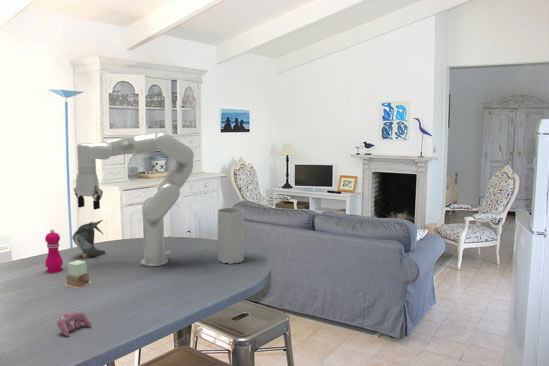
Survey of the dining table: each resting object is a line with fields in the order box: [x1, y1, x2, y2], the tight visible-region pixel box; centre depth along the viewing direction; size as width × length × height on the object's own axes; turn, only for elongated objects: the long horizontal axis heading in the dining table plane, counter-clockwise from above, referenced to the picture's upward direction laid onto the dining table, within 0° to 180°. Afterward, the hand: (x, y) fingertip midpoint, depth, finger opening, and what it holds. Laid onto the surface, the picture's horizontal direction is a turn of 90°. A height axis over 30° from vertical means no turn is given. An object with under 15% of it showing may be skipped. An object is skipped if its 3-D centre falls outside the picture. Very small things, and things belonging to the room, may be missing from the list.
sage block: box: [67, 259, 88, 277], centre depth 207 cm, size 5×5×5 cm
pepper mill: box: [44, 229, 64, 274], centre depth 223 cm, size 7×7×20 cm
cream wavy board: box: [63, 281, 93, 289], centre depth 213 cm, size 17×15×1 cm
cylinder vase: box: [217, 207, 245, 265], centre depth 243 cm, size 12×12×25 cm
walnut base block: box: [66, 272, 90, 287], centre depth 208 cm, size 6×6×4 cm
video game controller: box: [56, 310, 92, 337], centre depth 166 cm, size 10×5×7 cm, turn 146°
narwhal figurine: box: [71, 219, 106, 259], centre depth 249 cm, size 14×15×18 cm
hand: (89, 208), depth 228 cm, fingers open, 9 cm apart
